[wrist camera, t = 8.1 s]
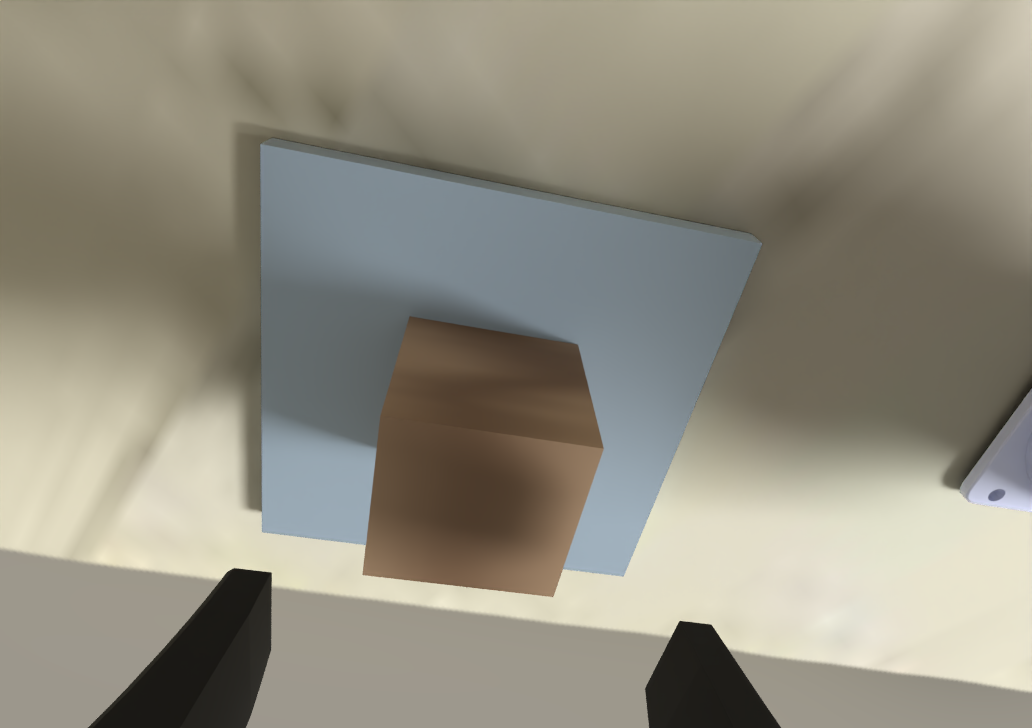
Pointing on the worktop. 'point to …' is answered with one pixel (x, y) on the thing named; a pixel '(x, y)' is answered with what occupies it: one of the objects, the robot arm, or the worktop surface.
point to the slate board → (473, 324)
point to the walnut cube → (481, 460)
